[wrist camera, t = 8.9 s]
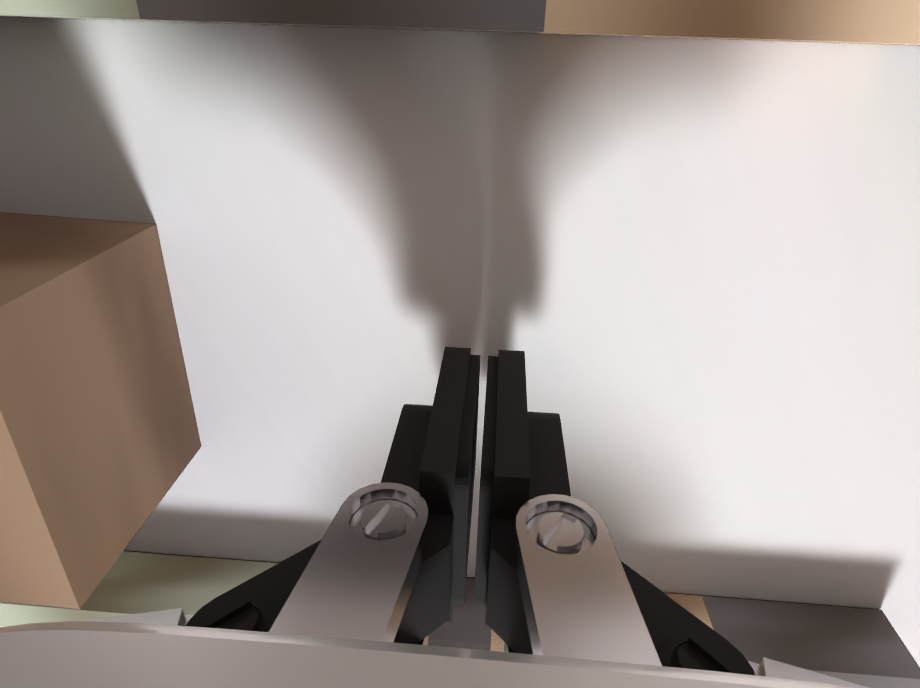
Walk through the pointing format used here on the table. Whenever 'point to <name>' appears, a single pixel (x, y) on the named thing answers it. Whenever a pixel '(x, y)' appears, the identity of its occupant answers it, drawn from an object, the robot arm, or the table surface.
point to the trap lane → (550, 12)
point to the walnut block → (84, 400)
